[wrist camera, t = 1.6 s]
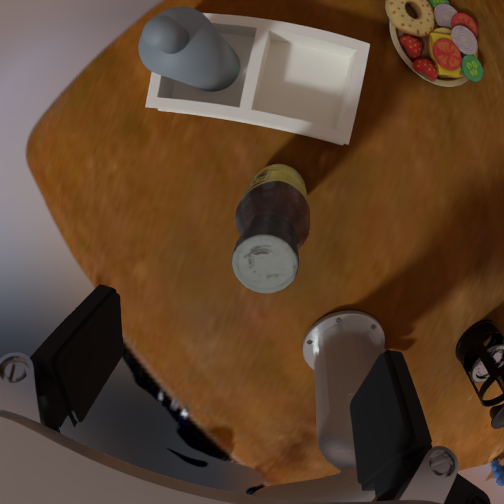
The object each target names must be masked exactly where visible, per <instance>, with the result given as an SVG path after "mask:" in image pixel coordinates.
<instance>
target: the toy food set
mask: <svg viewBox="0 0 504 504" xmlns="http://www.w3.org/2000/svg"><path fill="white" fill-rule="evenodd" d="M385 8H386V12H387V15H388V17H389V19H390V33H391V37H392V41H393V43H394V46H395V48H396V50H397V52H398V53H399V55H400V56H401V58H402V59H403V61H404V62H405V63H406V64H407V65H408V66H409V67H410V68H411V69H412V70H413V71H414V72H415V73H416V74H417V75H419V76H420V77H422V78H423V79H425V80H427V81H429V82H431V83H433V84H436V85H439V86H444V87H454V86H458V85H461V84H463V83H465V82H466V81H468V80H471V81H474V82H476V81H479V80H481V78H482V76H483V68H482V65H481V63H480V62H479V60H478V59H477V58H478V52H477V47H478V45H477V40H476V36H477V32H478V30H477V26H476V23H475V22H474V20H473V19H472V18H471V17H470V16H468V15H467V14H464V13H457V11H456V10H455V9H454V8H453V7H452V6H450V4H449V2H448V0H386V3H385Z"/></svg>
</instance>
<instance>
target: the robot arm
mask: <svg viewBox="0 0 504 504" xmlns="http://www.w3.org/2000/svg"><path fill="white" fill-rule="evenodd" d="M384 344H385V335H384V332H383V329H382V327H381V325H380V323H379V322H378V321H377V320H376V319H375V318H374V317H372V316H371V315H369V314H367V313H364V312H360V311H353V310H346V311H339V312H335V313H332V314H329V315H327V316H325V317H323V318H321V319H320V320H318V321H317V322H316V323H315V324H314V325H313V326H312V327H311V328H310V329H309V330H308V332H307V333H306V336H305V338H304V341H303V355H304V358H305V360H306V362H307V364H308V365H309V366H310V367H311V368H312V369H313V370H314V371H315V392H316V419H317V443H318V447H319V449H320V451H321V453H322V455H323V456H324V457H325V459H326V460H327V461H328V462H330V463H331V464H332V465H333V466H334V467H336V468H337V469H339V470H340V471H341V472H340V473H338V474H335V475H331V476H326V477H324V478H319V479H313V480H307V481H300V482H293V483H285V484H278V485H272V486H267V487H264V488H262V489H260V490H258V491H256V492H255V493H253V494H252V495H245V494H239V493H234V492H228V491H223V490H218V489H213V488H209V487H204V486H200V485H196V484H192V483H188V482H185V481H181V480H177V479H174V478H170V477H167V476H164V475H160V474H157V473H154V472H151V471H148V470H145V469H142V468H139V467H137V466H134V465H131V464H128V463H126V462H123V461H120V460H118V459H116V458H113V457H111V456H108V455H106V454H104V453H101V452H99V451H97V450H94V449H92V448H90V447H87V446H85V445H83V444H81V443H79V442H77V441H74V440H72V439H70V438H68V437H66V436H64V435H62V434H61V432H60V428H59V427H61V425H62V424H63V422H64V423H66V424H68V425H70V426H72V427H75V425H76V424H77V422H82V421H83V420H84V418H85V416H86V415H87V413H88V411H89V409H90V408H91V406H92V404H93V403H94V401H95V399H96V398H97V396H98V394H99V393H100V391H101V390H102V388H103V386H104V384H105V383H106V381H107V380H108V378H109V376H110V375H111V373H112V372H113V370H114V369H115V367H116V365H117V364H118V362H119V361H120V359H121V357H122V355H123V350H124V347H123V336H122V323H121V306H120V295H119V294H117V293H116V290H115V289H114V288H111V287H108V286H105V285H99V286H98V287H97V288H96V289H95V290H94V291H93V292H92V293H91V294H90V295H89V296H88V297H87V298H86V299H85V300H84V301H83V302H82V303H81V304H80V305H79V306H78V307H77V308H76V309H75V310H74V311H73V312H72V313H71V314H70V315H69V316H68V317H67V318H66V319H65V320H64V321H63V322H62V323H61V324H60V325H59V326H58V327H57V328H56V329H55V331H53V333H52V334H51V335H50V336H49V337H48V338H47V339H46V340H45V341H44V342H43V344H42V345H41V346H40V347H39V348H38V349H37V350H36V352H35V353H34V354H33V355H32V356H31V357H30V358H29V357H27V356H26V355H25V354H21V353H10V354H7V355H5V356H3V357H2V358H1V359H0V504H490V499H489V497H488V496H487V494H486V493H485V492H483V491H482V490H481V489H479V488H478V487H476V486H475V485H473V484H472V483H471V482H469V481H468V480H466V479H465V478H463V477H462V476H461V475H459V474H458V473H457V472H458V468H459V465H458V460H457V457H456V456H455V454H454V453H453V452H452V451H451V450H450V449H448V448H446V447H444V446H435V447H433V448H432V445H431V442H432V440H431V436H430V433H429V430H428V426H427V423H426V420H425V417H424V414H423V410H422V407H421V404H420V401H419V398H418V395H417V392H416V389H415V387H414V384H413V381H412V378H411V375H410V373H409V370H408V367H407V364H406V362H405V359H404V356H403V354H402V353H401V352H398V351H391V350H386V349H384Z"/></svg>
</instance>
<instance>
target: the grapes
mask: <svg viewBox="0 0 504 504" xmlns="http://www.w3.org/2000/svg"><path fill="white" fill-rule="evenodd" d="M491 467H492V469H491V470H493V471H494V473H493V477H495V478H497V481H496V483H498V485H499V486H503V485H504V465H503V466H501V465H499V461H497V460H493V461H492V462H491Z"/></svg>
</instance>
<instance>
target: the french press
mask: <svg viewBox="0 0 504 504" xmlns="http://www.w3.org/2000/svg"><path fill="white" fill-rule="evenodd" d="M491 333H492V338H491V341H490V343H489V345H488V346H487V347H485V346H484V344H483V343H482V341H481V340H480V339H481V338H482V337H484V336H486V335H488V334H491ZM471 347H473V348H474V350H475V351H476V353H477V355H476V356H473V357H466V354H467V353H468V351H469V350H470V348H471ZM456 357H457V359H458V360H459V361H460V362H461V364H462V366H463V367H464V369H465V371H466V373H467V375H468V377H469V379H470V381H471V383H472V385H473V387H474V389H475V391H476V393H477V395H478V397H479V399H480V401H481V403H482V405H483V406H485V407H490V406H494V405H497V404H499V403H501V402H502V401H504V336H503V335H502V334H501V332H500V331H499V330H498V328H497V325H496V324H495V323H494V322H493V321H491V320H483V321H480V322H478V323H476V324H474V325H473V326H471V327H470V328H469V329H468V330H467V331H466V332H465V333H464V334H463V335H462V336H461V338H460V339H459V341H458V343H457V346H456ZM469 372H471V373H470V374H471V376H470V374H469ZM495 380H496V381H497V382H498V384H499V386H500V388H501V390H502V392H503V394H501V395H500V396H498V397H496V398H494V399H492V400H486V401H485V400H482V399H483V396H484V394H485V392H486V390H487V389H488V388H489V386H490V385H491V384H492V383H493V382H494V381H495ZM474 382H476V383H481V382H484V383H483V385H482V387H481V388H480V391H478V389H477V387H476V385H475V383H474ZM490 416H491V418H492V421H491V426H492V427H493V428H495V429H498V428H502V427H504V404H501V405H498V406H494V407H492V408H491V409H490Z"/></svg>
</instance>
